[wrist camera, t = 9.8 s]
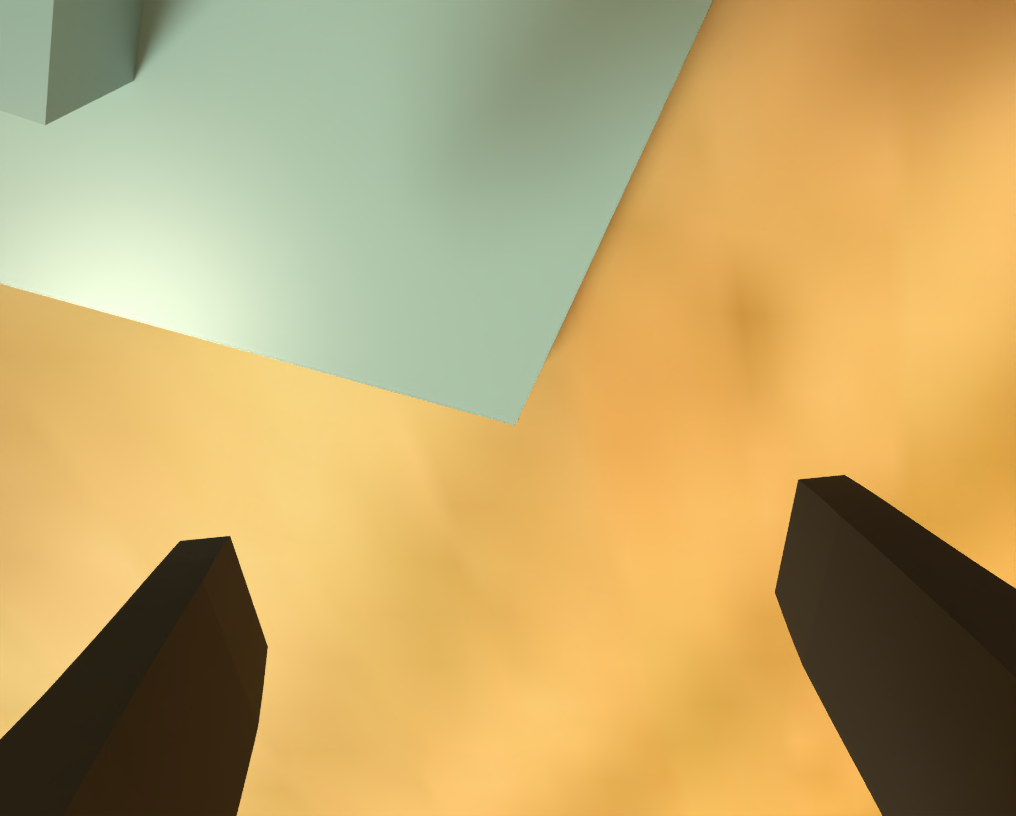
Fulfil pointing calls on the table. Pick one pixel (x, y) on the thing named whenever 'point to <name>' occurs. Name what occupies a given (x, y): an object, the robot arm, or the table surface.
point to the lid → (332, 172)
